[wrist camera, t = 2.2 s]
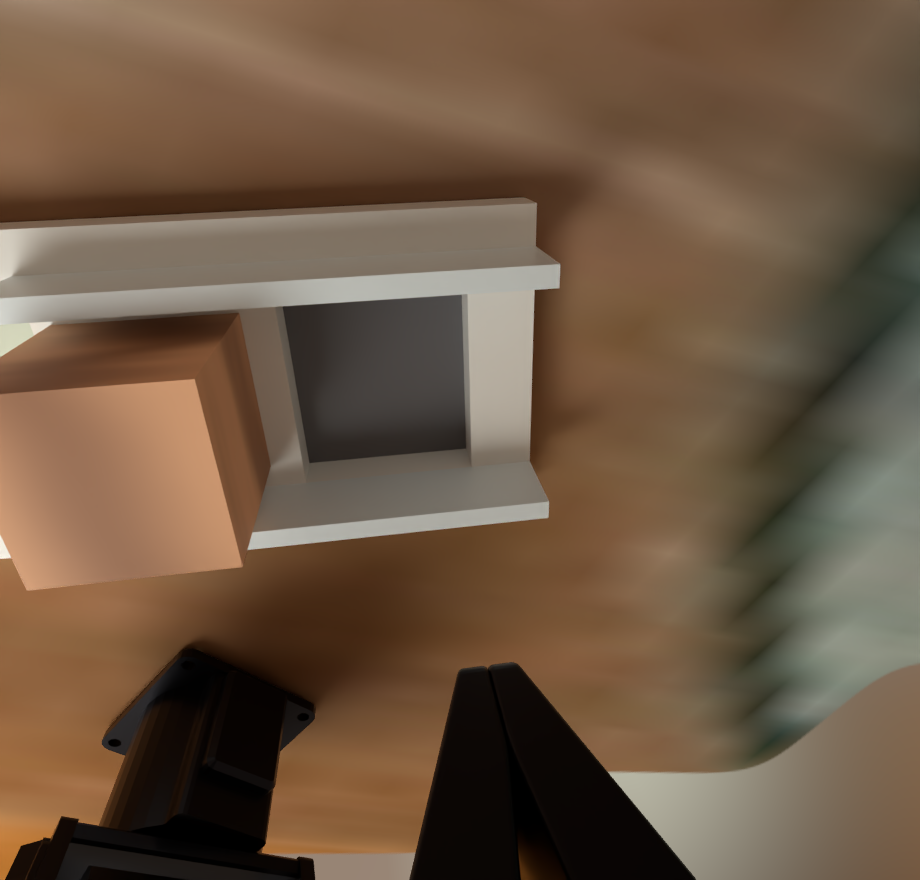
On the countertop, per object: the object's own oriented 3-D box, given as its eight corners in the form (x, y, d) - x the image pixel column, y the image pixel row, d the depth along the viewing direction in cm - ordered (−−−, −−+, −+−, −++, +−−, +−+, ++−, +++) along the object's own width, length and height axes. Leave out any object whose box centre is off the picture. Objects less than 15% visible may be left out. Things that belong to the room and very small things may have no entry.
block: (239, 312, 17) (194, 379, 13) (270, 465, 19) (243, 566, 15) (50, 325, 16) (-66, 398, 12) (106, 481, 19) (26, 590, 14)
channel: (524, 197, 18) (562, 215, 14) (519, 481, 23) (546, 547, 19) (-393, 241, 15) (-617, 277, 12) (-185, 551, 20) (-301, 642, 17)
